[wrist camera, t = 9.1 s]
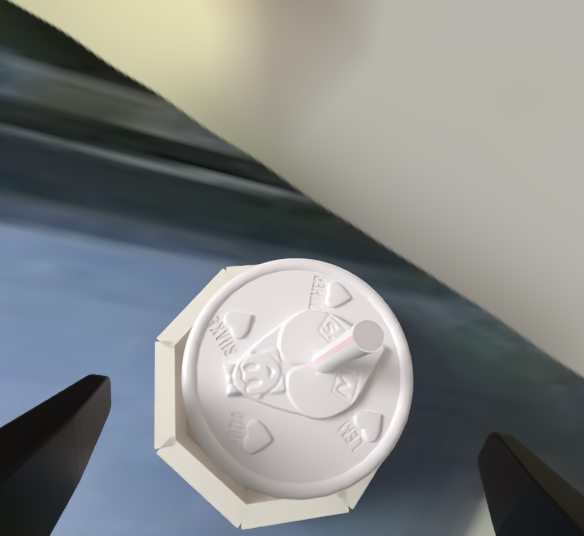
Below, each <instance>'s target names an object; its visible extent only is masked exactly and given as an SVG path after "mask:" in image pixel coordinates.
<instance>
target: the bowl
mask: <svg viewBox="0 0 584 536" xmlns="http://www.w3.org/2000/svg"><path fill="white" fill-rule="evenodd" d="M254 266H257V265H249V266H235V267H226V270H227V272H226V271H225V270H224V269H222V270H221V271H220V272H219V273H218V274H217V275H216V276H215V277H214V279H213V280H212V281H211V282H210V283H209V284H208V285H207V286H206V287H205V288H204V289H203V290H202V291H201V292H200V293H199V294H198V295H197V296H196V297H195V298H194V300H193V301H192V302H191V303H190V304H189V305H188V306H187V307H186V308H185V309H184V310H183V311H182V312H181V313H180V314H179V315H178V316H177V317H176V318H175V319H174V321H173V322H172V323H171V324H170V325H169V326H168V327H167V328H166V329H165V330H164V331H163V332H162V333H161V334H160V335H159V336H158V337H157V339H158V340H160V341H161V342H155V449H156V448H160V449H159V450H158V452H157V454H158V455H159V456H160V457H161V458H162V459H163V460H164V461H165V462H167V463H168V464H169V465H170V466H171V467H172V468H173V469H174V470H175V471H176V472H177V473H178V474H179V475H181V476H182V477H183V478H184V479H185V480H186V481H187V482H188V483H189V484H190V485H191V486H192V487H193V488H195V489H196V490H197V491H198V492H199V493H200V494H201V495H202V496H203V497H204V498H205V499H206V500H207V501H209V502H210V503H211V504H212V505H213V506H214V507H215V508H216V509H217V510H218V511H219V512H220V513H221V514H222V515H224V516H225V517H226V518H227V519H228V520H229V521H230V522H231V523H232V524H233V525H234V526H235V527H236V528H238V527H239V525H240V524H241V525H242V530H243V529H249V528H255V527H261V526H267V525H274V524H280V523H286V522H292V521H298V520H304V519H311V518H317V517H323V516H329V515H335V514H341V513H348V512H349V509H348V506H349V507H350V508H351V509H353V508H354V507H355V505H356V504H357V502H358V500H359V499H360V497H361V495H362V494H363V492H364V491H365V489H366V487H367V486H368V484H369V483H370V481H371V479H372V478H373V476H374V474H375V473H376V471H377V470H378V468H379V467H378V468H377V469H375V470H374V471H373V472H372V473H371V474H370V475H369V476H367V477H366V478H365V479H363V480H362V481H361V482H359V483H357V484H355V485H354V486H352V487H350V488H348V489H346V490H344V491H342V492H339V493H336V494H333V495H330V496H327V497H322V498H317V499H309V500H288V499H281V498H275V497H272V496H268V495H264V494H262V493H259V492H256V491H254V490H252V489H250V488H248V487H246V486H244V485H242V484H240V483H239V482H237V481H236V480H234V479H233V478H231V477H230V476H229V475H228V474H226V473H225V472H224V471H223V470H222V469H220V468H219V467H218V465H217V464H216V463H215V462H214V461H213V460H212V459H211V458H210V457H209V455H208V454H207V453H206V451H205V450H204V449H203V447H202V446H201V444H200V442H199V441H198V439H197V437H196V435H195V433H194V431H193V429H192V427H191V424H190V422H189V419H188V416H187V413H186V409H185V405H184V400H183V394H182V381H181V375H182V362H183V355H184V350H185V346H186V342H187V339H188V336H189V333H190V331H191V329H192V326H193V324H194V322H195V320H196V318H197V317H198V315H199V313H200V311H201V310H202V308H203V307H204V306H205V304H206V303H207V302H208V300H209V299H210V298H211V297H212V296H213V295H214V293H216V292H217V291H218V290H219V289H220V288H221V287H222V286H223V285H224V284H225V283H227V282H228V281H229V280H231V279H232V278H234V277H235V276H237V275H238V274H240V273H242V272H244V271H246V270H247V269H249V268H252V267H254ZM408 416H409V415H408ZM407 421H408V420H407ZM407 421H406V423H407Z"/></svg>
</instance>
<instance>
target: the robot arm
mask: <svg viewBox="0 0 584 536" xmlns="http://www.w3.org/2000/svg"><path fill="white" fill-rule="evenodd" d="M110 408H111V383H110V379H109V377H107V376H102V375H95V374H90V375H88V376H86V377H84V378H83V379H81V380H79V381H78V382H76V383H74V384H73V385H71V386H69V387H68V388H66V389H64V390H63V391H61V392H59V393H58V394H56V395H54V396H53V397H51V398H49V399H48V400H46V401H44V402H43V403H41V404H39V405H38V406H36V407H34V408H33V409H31V410H29V411H28V412H26V413H24V414H23V415H21V416H19V417H17V418H16V419H14V420H12V421H11V422H9V423H7V424H6V425H4V426H2V427H1V428H0V536H50V534H51V533H52V531H53V529H54V527H55V525H56V524H57V522H58V520H59V518H60V516H61V515H62V513H63V511H64V509H65V507H66V506H67V504H68V502H69V500H70V498H71V497H72V495H73V493H74V491H75V489H76V487H77V485H78V483H79V482H80V480H81V477H82V475H83V473H84V471H85V468H86V466H87V464H88V461H89V459H90V457H91V454H92V452H93V450H94V447H95V445H96V443H97V440H98V438H99V436H100V433H101V431H102V429H103V427H104V424H105V422H106V420H107V417H108V415H109V412H110ZM477 463H478V469H479V473H480V476H481V480H482V484H483V488H484V492H485V496H486V500H487V504H488V508H489V512H490V516H491V520H492V523H493V527H494V530H495V534H496V536H584V496H583V495H582V494H580V493H579V492H578V491H577V490H576V489H575V488H573V487H572V486H571V485H570V484H569V483H567V482H566V481H565V480H564V479H563V478H561V477H560V476H559V475H558V474H557V473H555V472H554V471H553V470H552V469H551V468H550V467H548V466H547V465H546V464H545V463H544V462H542V461H541V460H540V459H539V458H538V457H536V456H535V455H534V454H533V453H532V452H531V451H529V450H528V449H527V448H526V447H525V446H523V445H522V444H521V443H520V442H519V441H517V440H516V439H515V438H514V437H513V436H511V435H509V434H506V433H499V432H492V433H490V434H489V436H488V437H487V439H486V441H485V443H484V445H483V447H482V448H481V450H480V452H479V454H478V459H477Z"/></svg>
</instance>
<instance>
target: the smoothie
mask: <svg viewBox="0 0 584 536" xmlns="http://www.w3.org/2000/svg"><path fill="white" fill-rule="evenodd" d="M181 381H182V394H183V400H184V405H185V409H186V413H187V416H188V419H189V422H190V424H191V427H192V429H193V431H194V433H195V435H196V437H197V439H198V441H199V442H200V444H201V446H202V447H203V449H204V450H205V451H206V453H207V454H208V455H209V457H210V458H211V459H212V460H213V461H214V462H215V463H216V464H217V465H218V467H219V468H220V469H222V470H223V471H224V472H225V473H226V474H228V475H229V476H230V477H231V478H233V479H234V480H236V481H237V482H239V483H240V484H242V485H244V486H246V487H248V488H250V489H252V490H254V491H256V492H259V493H262V494H264V495H268V496H272V497H275V498H281V499H288V500H309V499H317V498H322V497H327V496H330V495H333V494H336V493H339V492H342V491H344V490H346V489H348V488H350V487H352V486H354V485H355V484H357V483H359V482H361V481H362V480H363V479H365V478H366V477H367V476H369V475H370V474H371V473H372V472H373V471H374V470H375V469H377V468H378V467H379V466H380V465H381V463H382V462H383V461H384V460H385V459H386V458H387V457H388V455H389V454H390V452H391V451H392V449H393V448H394V447H395V445H396V443H397V441H398V440H399V438H400V436H401V434H402V431H403V429H404V427H405V424H406V421H407V418H408V415H409V411H410V407H411V402H412V394H413V367H412V361H411V355H410V351H409V347H408V343H407V341H406V338H405V335H404V332H403V330H402V328H401V326H400V324H399V322H398V320H397V318H396V317H395V315H394V313H393V312H392V310H391V309H390V307H389V306H388V305H387V304H386V302H385V301H384V300H383V299H382V297H381V296H380V295H379V294H378V293H377V292H376V291H375V290H374V289H372V288H371V287H370V286H369V285H368V284H367V283H365V282H364V281H363V280H361V279H360V278H358V277H357V276H355V275H353V274H352V273H350V272H348V271H346V270H344V269H342V268H340V267H337V266H335V265H332V264H329V263H325V262H321V261H317V260H311V259H300V258H298V259H281V260H275V261H270V262H266V263H263V264H259V265H257V266H254V267H252V268H249V269H247V270H246V271H244V272H242V273H240V274H238V275H237V276H235V277H234V278H232V279H231V280H229V281H228V282H227V283H225V284H224V285H223V286H222V287H221V288H220V289H219V290H218V291H217V292H216V293H214V295H213V296H212V297H211V298H210V299H209V300H208V302H207V303H206V304H205V306H204V307H203V308H202V310H201V311H200V313H199V315H198V317H197V318H196V320H195V322H194V324H193V326H192V329H191V331H190V333H189V336H188V339H187V342H186V346H185V350H184V355H183V362H182V375H181Z"/></svg>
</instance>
